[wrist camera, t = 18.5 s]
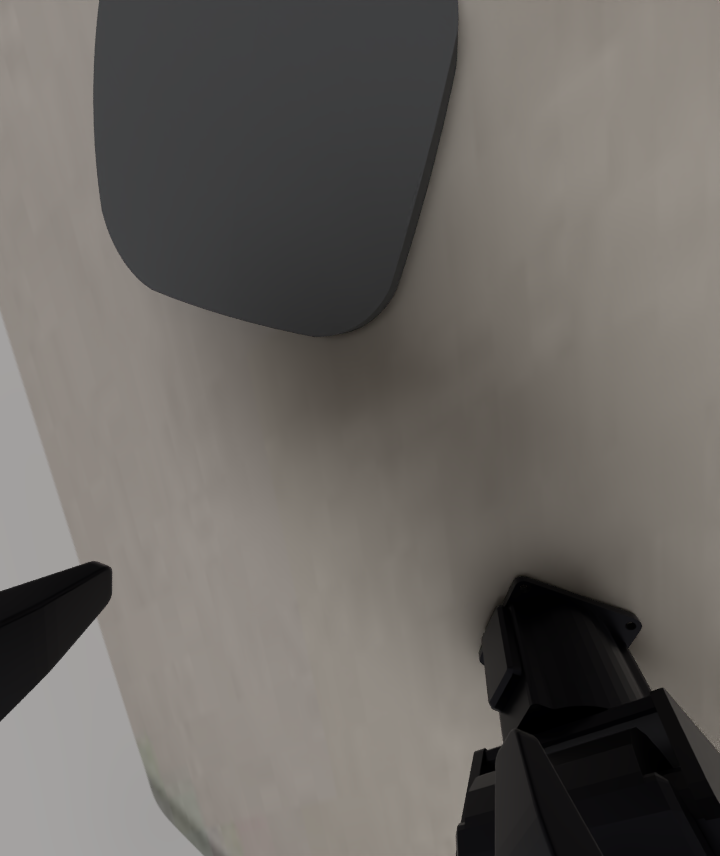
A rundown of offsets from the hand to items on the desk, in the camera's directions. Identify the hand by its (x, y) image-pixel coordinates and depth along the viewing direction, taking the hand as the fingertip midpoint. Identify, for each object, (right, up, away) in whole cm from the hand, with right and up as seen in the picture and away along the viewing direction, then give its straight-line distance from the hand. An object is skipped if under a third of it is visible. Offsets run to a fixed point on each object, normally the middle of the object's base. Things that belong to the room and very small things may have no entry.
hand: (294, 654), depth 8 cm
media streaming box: (-3, +18, +10) cm, 20 cm away
